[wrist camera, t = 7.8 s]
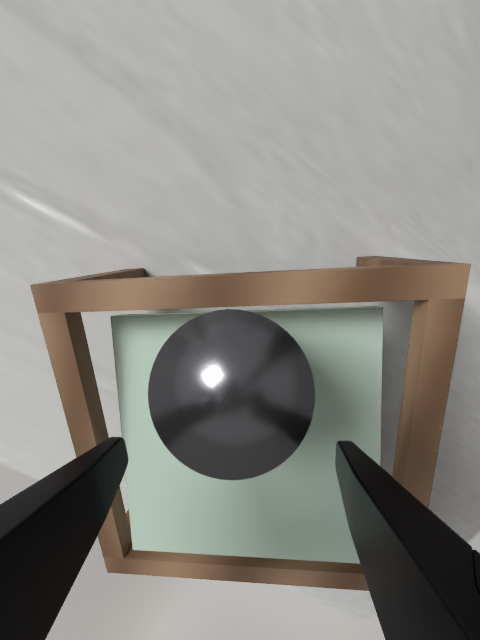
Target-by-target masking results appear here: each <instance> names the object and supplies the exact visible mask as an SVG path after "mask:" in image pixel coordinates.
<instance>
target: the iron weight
mask: <svg viewBox="0 0 480 640" xmlns="http://www.w3.org/2000/svg"><path fill="white" fill-rule="evenodd" d="M148 404H149V410H150V415H151V419H152V422H153V425H154V427H155V429H156V432H157V434H158V436H159V438H160V439H161V441H162V442H163V444H164V445H165V447H166V448H167V449H168V450H169V451H170V453H171V454H172V455H173V456H174V457H175V458H177V459H178V460H179V461H180V462H181V463H182V464H184V465H185V466H187V467H188V468H190V469H192V470H194V471H195V472H197V473H199V474H202V475H205V476H208V477H211V478H216V479H220V480H244V479H249V478H254V477H257V476H260V475H263V474H265V473H267V472H269V471H271V470H273V469H275V468H276V467H278V466H279V465H281V464H282V463H283V462H285V461H286V460H287V459H288V458H289V457H290V456H291V455H292V454H293V453H294V452H295V450H296V449H297V448H298V447H299V446H300V444H301V442H302V441H303V439H304V437H305V436H306V433H307V431H308V429H309V427H310V424H311V420H312V417H313V413H314V406H315V386H314V379H313V375H312V371H311V368H310V365H309V363H308V360H307V358H306V356H305V354H304V352H303V351H302V349H301V347H300V346H299V345H298V343H297V342H296V341H295V339H294V338H293V337H292V336H291V335H290V334H289V333H288V332H287V331H286V330H285V329H283V328H282V327H281V326H280V325H278V324H277V323H275V322H273V321H272V320H270V319H268V318H266V317H264V316H261V315H259V314H256V313H253V312H249V311H243V310H230V309H227V310H217V311H213V312H209V313H205V314H203V315H200V316H197V317H195V318H193V319H192V320H190V321H188V322H186V323H185V324H184V325H182V326H181V327H179V328H178V329H177V330H176V331H175V332H174V333H173V334H172V335H171V336H170V337H169V338H168V339H167V341H166V342H165V343H164V344H163V346H162V348H161V349H160V351H159V352H158V354H157V357H156V359H155V361H154V363H153V366H152V370H151V373H150V378H149V383H148Z"/></svg>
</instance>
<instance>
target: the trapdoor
mask: <svg viewBox="0 0 480 640" xmlns="http://www.w3.org/2000/svg"><path fill="white" fill-rule="evenodd" d="M246 311H249V312H253V313H256V314H259V315H261V316H264V317H266V318H268V319H270V320H272V321H273V322H275V323H277V324H278V325H280V326H281V327H282V328H283V329H285V330H286V331H287V332H288V333H289V334H290V335H291V336H292V337H293V338H294V339H295V341H296V342H297V343H298V345H299V346H300V347H301V349H302V351H303V352H304V354H305V356H306V358H307V360H308V363H309V365H310V368H311V371H312V375H313V379H314V386H315V406H314V413H313V417H312V420H311V424H310V427H309V429H308V431H307V433H306V436H305V437H304V439H303V441H302V442H301V444H300V446H299V447H298V448H297V449H296V450H295V452H294V453H293V454H292V455H291V456H290V457H289V458H288V459H287V460H286V461H285V462H283V463H282V464H281V465H279V466H278V467H276V468H275V469H273V470H271V471H269V472H267V473H265V474H263V475H260V476H257V477H254V478H249V479H244V480H220V479H216V478H211V477H208V476H205V475H202V474H199V473H197V472H195V471H194V470H192V469H190V468H188V467H187V466H185V465H184V464H182V463H181V462H180V461H179V460H178V459H177V458H175V457H174V456H173V455H172V454H171V453H170V451H169V450H168V449H167V448H166V447H165V445H164V444H163V442H162V441H161V439H160V438H159V436H158V434H157V432H156V429H155V427H154V425H153V422H152V419H151V415H150V410H149V404H148V383H149V378H150V373H151V370H152V366H153V363H154V361H155V359H156V357H157V354H158V352H159V351H160V349H161V348H162V346H163V344H164V343H165V342H166V341H167V339H168V338H169V337H170V336H171V335H172V334H173V333H174V332H175V331H176V330H177V329H178V328H179V327H181V326H182V325H184V324H185V323H186V322H188V321H190V320H192V319H193V318H195V317H197V316H200V315H203V314H205V313H209V312H187V313H157V314H127V315H116V316H111V326H112V336H113V347H114V358H115V368H116V379H117V389H118V400H119V410H120V421H121V432H122V438H124V440H125V444H126V448H127V453H128V465H127V468H126V471H125V474H126V484H127V495H128V506H129V516H130V527H131V537H132V548H133V550H143V551H159V552H176V553H193V554H209V555H226V556H242V557H259V558H275V559H292V560H308V561H325V562H341V563H358V564H360V561H359V558H358V555H357V552H356V549H355V546H354V543H353V540H352V536H351V533H350V530H349V526H348V522H347V518H346V513H345V509H344V504H343V500H342V495H341V491H340V487H339V482H338V478H337V473H336V467H335V457H336V443H337V441H339V440H348V441H352V442H353V443H355V444H356V445H357V446H358V447H359V448H360V449H361V450H362V451H364V452H365V453H366V454H367V455H368V456H369V457H370V458H372V459H373V460H374V461H375V462H376V463H377V464H378V465H379V466H380V455H381V401H382V346H383V307H377V306H365V307H335V308H305V309H276V310H246Z"/></svg>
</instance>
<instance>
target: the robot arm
mask: <svg viewBox="0 0 480 640" xmlns="http://www.w3.org/2000/svg"><path fill="white" fill-rule="evenodd" d="M127 465H128V453H127V448H126V444H125V440H124V438H122V437H110V438H108V439H106V440H105V441H103V442H102V443H100V444H98V445H97V446H95V447H93V448H92V449H90V450H88V451H87V452H85V453H84V454H82V455H80V456H79V457H77V458H75V459H74V460H72V461H71V462H69V463H67V464H66V465H64V466H62V467H61V468H59V469H57V470H56V471H54V472H53V473H51V474H49V475H48V476H46V477H44V478H43V479H41V480H40V481H38V482H36V483H35V484H33V485H31V486H30V487H28V488H26V489H25V490H24V491H22V492H20V493H18V494H17V495H15V496H13V497H12V498H10V499H9V500H7V501H5V502H4V503H2V504H0V640H45V639H46V637H47V635H48V633H49V631H50V629H51V627H52V625H53V623H54V621H55V619H56V617H57V615H58V613H59V611H60V609H61V607H62V605H63V603H64V601H65V599H66V597H67V595H68V593H69V591H70V589H71V587H72V585H73V583H74V581H75V579H76V577H77V575H78V573H79V571H80V569H81V567H82V565H83V563H84V561H85V559H86V558H87V555H88V553H89V552H90V550H91V548H92V546H93V544H94V542H95V540H96V537H97V536H98V534H99V532H100V530H101V528H102V526H103V524H104V522H105V519H106V517H107V515H108V513H109V510H110V508H111V506H112V503H113V501H114V498H115V496H116V493H117V491H118V488H119V486H120V483H121V481H122V478H123V476H124V473H125V471H126V468H127ZM335 467H336V473H337V478H338V482H339V487H340V491H341V495H342V500H343V504H344V509H345V513H346V518H347V522H348V526H349V530H350V533H351V536H352V540H353V543H354V546H355V549H356V552H357V555H358V558H359V561H360V564H361V567H362V570H363V573H364V576H365V579H366V582H367V585H368V588H369V591H370V594H371V597H372V600H373V603H374V606H375V609H376V612H377V615H378V618H379V621H380V624H381V627H382V630H383V633H384V637H385V640H480V553H479V552H477V551H476V550H472V547H471V546H470V545H469V544H468V543H467V542H466V541H465V540H464V539H462V538H461V537H460V536H459V535H458V534H457V533H456V532H454V531H453V530H452V529H451V528H450V527H449V526H448V525H447V524H445V523H444V522H443V521H442V520H441V519H440V518H439V517H437V516H436V515H435V514H434V513H433V512H432V511H431V510H429V509H428V508H427V507H426V506H425V505H424V504H423V503H422V502H420V501H419V500H418V499H417V498H416V497H415V496H414V495H412V494H411V493H410V492H409V491H408V490H407V489H406V488H404V487H403V486H402V485H401V484H400V483H399V482H398V481H397V480H395V479H394V478H393V477H392V476H391V475H390V474H389V473H387V472H386V471H385V470H384V469H383V468H382V467H381V466H379V465H378V464H377V463H376V462H375V461H374V460H373V459H372V458H370V457H369V456H368V455H367V454H366V453H365V452H364V451H362V450H361V449H360V448H359V447H358V446H357V445H356V444H355V443H353V442H352V441H348V440H339V441H337V443H336V457H335Z"/></svg>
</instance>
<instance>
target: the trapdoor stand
mask: <svg viewBox="0 0 480 640" xmlns="http://www.w3.org/2000/svg"><path fill="white" fill-rule="evenodd" d="M470 267H471V264H464V263H452V262H440V261H428V260H416V259H404V258H392V257H380V256H371V257H357V264H356V267H349V268H328V269H308V270H287V271H266V272H246V273H225V274H204V275H183V276H163V277H145V275H144V269H143V268H139V269H125V270H119V271H113V272H106V273H100V274H94V275H88V276H82V277H76V278H70V279H64V280H58V281H51V282H45V283H39V284H33V285H30V286H31V290H32V294H33V297H34V301H35V305H36V309H37V312H38V316H39V320H40V323H41V327H42V331H43V334H44V338H45V342H46V346H47V349H48V353H49V357H50V360H51V364H52V368H53V372H54V375H55V379H56V383H57V386H58V390H59V394H60V398H61V401H62V405H63V409H64V412H65V416H66V420H67V424H68V427H69V431H70V435H71V438H72V442H73V446H74V450H75V453H76V457H79V456H80V455H82V454H84V453H85V452H87V451H88V450H90V449H92V448H93V447H95V446H97V445H98V444H100V443H102V442H103V441H105V440H106V439H108V438H109V437H108V433H107V428H106V424H105V419H104V415H103V411H102V406H101V402H100V397H99V393H98V388H97V384H96V379H95V375H94V370H93V366H92V362H91V357H90V353H89V348H88V344H87V339H86V335H85V330H84V326H83V321H82V317H81V313H80V312H94V311H122V310H150V309H178V308H206V307H235V306H263V305H291V304H319V303H348V302H376V301H404V300H414V307H413V315H412V323H411V331H410V339H409V347H408V355H407V363H406V371H405V379H404V387H403V395H402V404H401V412H400V420H399V428H398V436H397V444H396V452H395V460H394V468H393V476H392V477H393V478H394V479H395V480H397V481H398V482H399V483H400V484H401V485H402V486H403V487H404V488H406V489H407V490H408V491H409V492H410V493H411V494H412V495H414V496H415V497H416V498H417V499H418V500H419V501H420V502H422V503H423V504H424V505H425V506H426V507H427V508H428V506H429V500H430V494H431V489H432V483H433V477H434V472H435V466H436V460H437V455H438V449H439V443H440V438H441V432H442V426H443V420H444V415H445V409H446V403H447V398H448V392H449V386H450V381H451V375H452V369H453V364H454V358H455V352H456V347H457V341H458V335H459V330H460V324H461V318H462V313H463V307H464V301H465V295H466V290H467V284H468V278H469V273H470ZM98 538H99V542H100V546H101V550H102V553H103V557H104V560H105V565H106V568H107V572H110V573H123V574H139V575H152V576H167V577H180V578H195V579H209V580H223V581H237V582H252V583H266V584H280V585H294V586H308V587H323V588H337V589H351V590H365V591H369V588H368V585H367V582H366V579H365V576H364V573H363V570H362V567H361V564H358V563H341V562H325V561H308V560H292V559H275V558H259V557H242V556H226V555H209V554H193V553H176V552H159V551H143V550H133V548H132V537H131V527H130V516H129V509H128V511H127V513H125V509H124V504H123V500H122V495H121V491H120V486H119V488H118V491H117V493H116V496H115V498H114V501H113V503H112V506H111V508H110V510H109V513H108V515H107V517H106V519H105V522H104V524H103V526H102V528H101V530H100V532H99V534H98Z"/></svg>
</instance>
